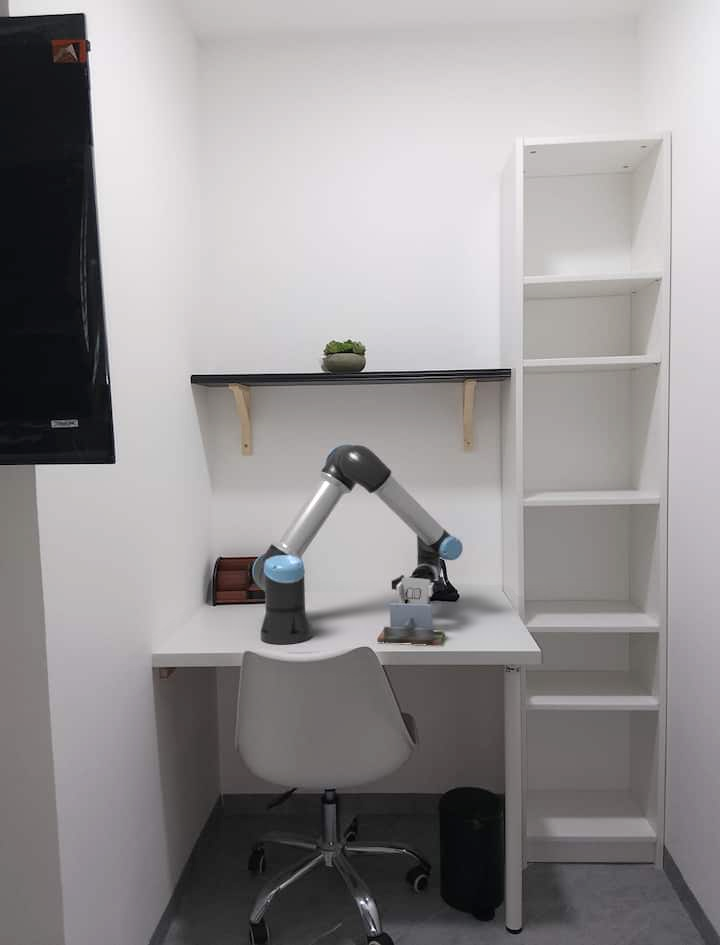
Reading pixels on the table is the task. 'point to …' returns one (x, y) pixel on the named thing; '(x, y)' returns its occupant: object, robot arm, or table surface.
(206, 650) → the table surface
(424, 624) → the upright blue panel
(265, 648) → the table surface
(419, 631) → the gauge base
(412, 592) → the electrical switch
